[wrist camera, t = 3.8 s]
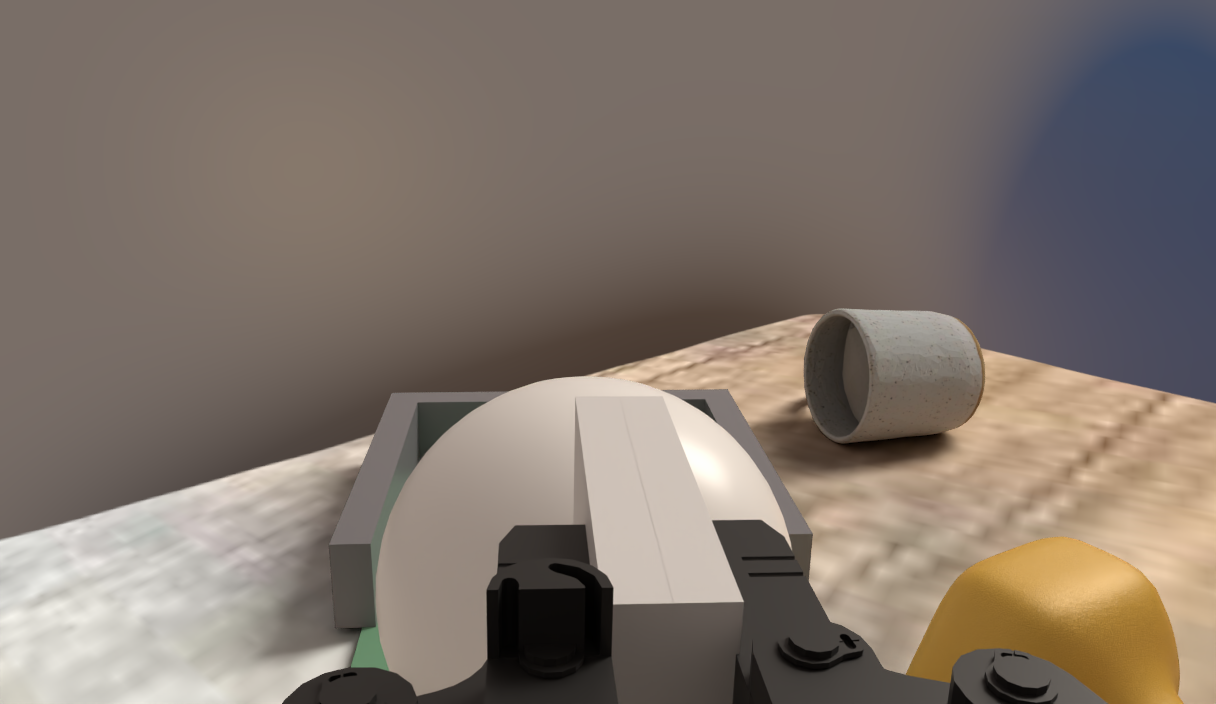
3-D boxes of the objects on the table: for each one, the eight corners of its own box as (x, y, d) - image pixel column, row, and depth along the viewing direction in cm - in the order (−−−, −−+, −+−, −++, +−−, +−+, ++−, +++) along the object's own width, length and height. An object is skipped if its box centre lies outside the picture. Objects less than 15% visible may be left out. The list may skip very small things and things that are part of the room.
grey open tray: (724, 448, 53) (727, 389, 52) (805, 614, 37) (812, 533, 36) (395, 454, 51) (392, 392, 50) (335, 628, 36) (328, 544, 35)
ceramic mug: (987, 448, 54) (1004, 318, 52) (862, 464, 52) (875, 328, 50) (882, 392, 64) (892, 280, 62) (772, 403, 62) (779, 286, 60)
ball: (736, 635, 36) (755, 327, 32) (832, 906, 24) (879, 475, 21) (412, 645, 35) (396, 329, 31) (353, 932, 23) (317, 485, 20)
